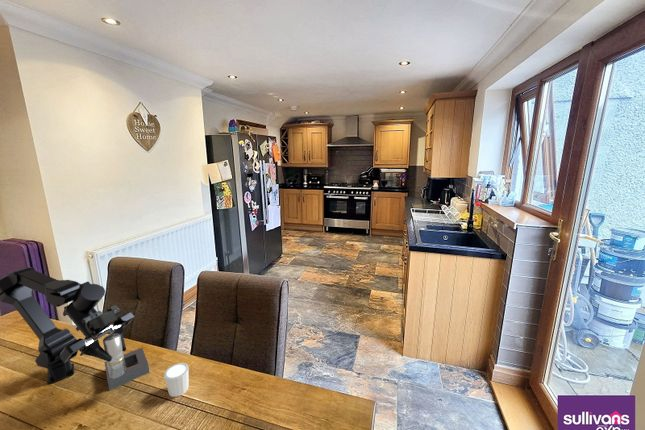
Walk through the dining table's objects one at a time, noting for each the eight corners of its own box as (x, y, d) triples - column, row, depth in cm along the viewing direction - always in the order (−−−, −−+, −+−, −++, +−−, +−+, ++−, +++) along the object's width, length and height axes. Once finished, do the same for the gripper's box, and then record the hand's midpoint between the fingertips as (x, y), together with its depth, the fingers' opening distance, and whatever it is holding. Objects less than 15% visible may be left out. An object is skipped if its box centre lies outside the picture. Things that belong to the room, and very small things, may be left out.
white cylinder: (180, 400, 82) (178, 380, 81) (161, 396, 84) (158, 377, 82) (195, 382, 89) (193, 364, 87) (177, 379, 90) (174, 361, 89)
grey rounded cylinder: (107, 373, 84) (101, 337, 81) (124, 365, 87) (118, 331, 84) (110, 381, 81) (104, 344, 78) (127, 373, 84) (122, 337, 82)
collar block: (106, 370, 94) (104, 362, 93) (143, 355, 101) (142, 347, 100) (109, 390, 86) (107, 381, 85) (149, 372, 93) (148, 363, 92)
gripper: (58, 320, 71) (96, 365, 71) (126, 288, 89) (156, 324, 88) (44, 341, 75) (79, 383, 74) (112, 306, 93) (141, 341, 92)
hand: (118, 355), depth 82 cm, fingers closed on grey rounded cylinder, 4 cm apart
